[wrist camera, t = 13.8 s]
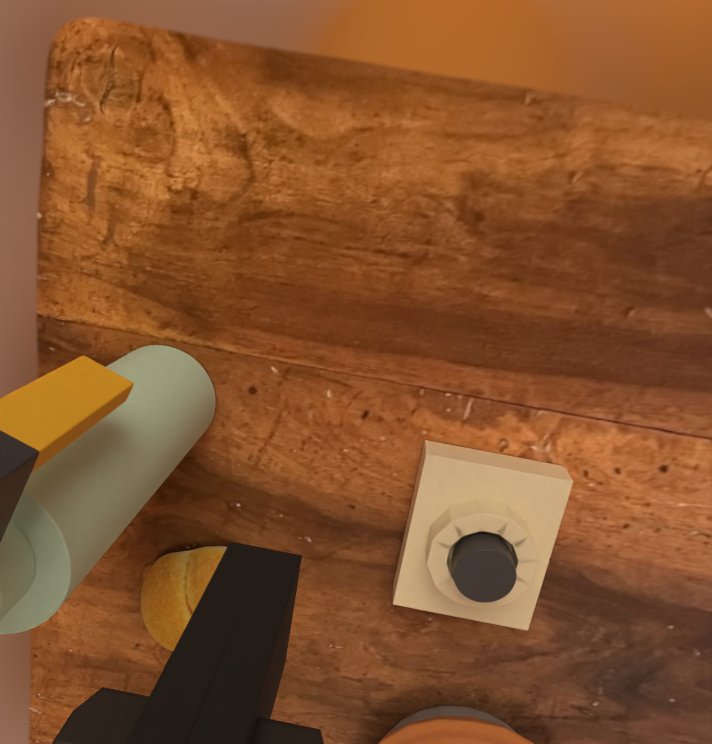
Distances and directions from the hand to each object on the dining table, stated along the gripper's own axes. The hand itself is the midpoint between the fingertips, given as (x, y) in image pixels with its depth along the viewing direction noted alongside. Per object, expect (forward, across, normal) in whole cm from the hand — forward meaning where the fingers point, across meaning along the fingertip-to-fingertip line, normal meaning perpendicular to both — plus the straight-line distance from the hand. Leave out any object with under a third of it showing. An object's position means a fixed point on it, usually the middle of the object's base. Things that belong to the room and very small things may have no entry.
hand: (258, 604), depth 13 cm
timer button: (+22, +10, -12) cm, 27 cm away
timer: (+26, +10, -12) cm, 30 cm away
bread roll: (+26, -7, -20) cm, 34 cm away
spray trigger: (+13, -10, -1) cm, 16 cm away
